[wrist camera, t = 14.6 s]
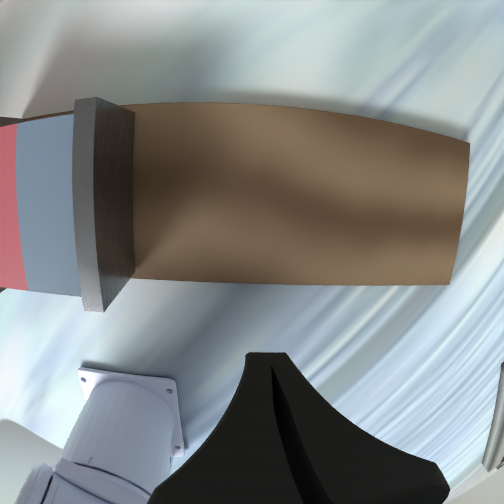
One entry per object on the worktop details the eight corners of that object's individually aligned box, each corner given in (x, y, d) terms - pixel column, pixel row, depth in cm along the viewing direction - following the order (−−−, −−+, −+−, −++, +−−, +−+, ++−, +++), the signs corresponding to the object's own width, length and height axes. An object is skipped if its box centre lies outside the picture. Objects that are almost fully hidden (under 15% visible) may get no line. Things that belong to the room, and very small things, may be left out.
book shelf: (441, 279, 20) (501, 322, 14) (26, 265, 18) (-34, 306, 12) (461, 142, 17) (534, 147, 11) (19, 122, 16) (-52, 119, 9)
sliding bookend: (135, 271, 18) (103, 312, 13) (120, 270, 18) (84, 310, 13) (135, 112, 15) (96, 97, 10) (118, 113, 15) (75, 100, 10)
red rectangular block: (70, 259, 17) (28, 290, 13) (29, 256, 17) (-16, 284, 12) (66, 128, 15) (17, 123, 10) (23, 134, 15) (-28, 134, 10)
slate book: (120, 262, 18) (86, 297, 13) (70, 259, 17) (28, 290, 13) (119, 123, 15) (78, 113, 11) (66, 128, 15) (17, 123, 10)
